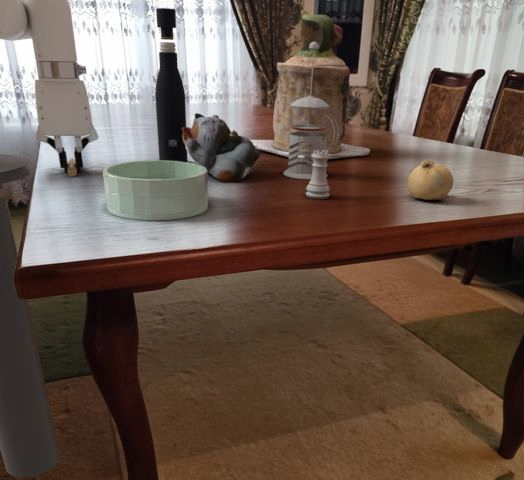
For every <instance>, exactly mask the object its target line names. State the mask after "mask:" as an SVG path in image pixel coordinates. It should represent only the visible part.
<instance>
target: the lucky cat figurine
mask: <svg viewBox="0 0 524 480" xmlns="http://www.w3.org/2000/svg"><path fill="white" fill-rule="evenodd" d="M182 131H183V142H184V144H185V146H186V150H187V153H188V155H189V156H190V157H191V158H192V160H193V162H195V164H198V165H201V166H204V167H206V169H207V171H208V174H210V175H212V177H214V178H216V179H218V180H219V181H221V182H224V183H226V182H227V183H232V182H233V183H237V182H240V180H241V179H244V178H245V177H246V176H248V175H249V174H250V173H251V170H252V167H253V166H254V165H255V163H256V162H257V161H258V160H259V158H260V157H261V155H262V151H261V150H259V149H256V148H255V146H254V145H253V143H252V142H251V141H250V140H251V139H250V138H248V137H246V136H243V135H239V133H238V132H237V131H236V130H235V129H233V130H232V131H231V129H230V127H229V126H228V124H227V123H226V121H225V120H224V119H222V118H220V116H219V115H217V114H213V115H212V116H205V115H204V114H201V113H198V112H195V113H194V119H193V123H192V125H191V127H190V126H189V127H188V126H186V127H183V128H182Z"/></svg>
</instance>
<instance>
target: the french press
mask: <svg viewBox="0 0 524 480" xmlns="http://www.w3.org/2000/svg"><path fill="white" fill-rule="evenodd" d="M309 48H313V61H312V76H313V62H314V49H319V45H318V43H317V42H312V43H311V44H310V47H309ZM312 76H311V90H310V96H308V97H305V98H300V99H298V100H296V101H295V102H293V103H292V104H291V108H296V109H309V120H310V110H324V109H328V108H329V107H330V106H329V105H328V104H327V103H325V102H324V101H323V100H321V99H319V98H315V97H313V96H311V91H312ZM329 115H330V114H328V115H324V116H326V117H327V120H326V121H324V116H323V121H324V122H327V121H328V118H329V119H330V117H328V116H329ZM330 116H331V117H332V118H333V119H334V121H335V122H336V125H337V129H338V132H337V139H336V142H335V144H334V146H333V147H332V148H331V146H332V144H333V141H334V138H335V127H334V124H333V122H332V120H331V119H330V121H331V122H332V125H333V129H334V135H333V141H332V144H331V145H330V147H329V148H328V149H327V150H325V147H326V134H322V133H316V132H292V133H290V142H289V157H288V165H287V169H285V170H284V172H282V173H283V176H286V177H288V178H292V179H298V180H299V179H301V180H311V177H312V172H313V166H312V164H313V163H314V160H313V158H312V157H311V156H312V155H313V153H314V150H320V152H322V150H323V149H322V146H323V147H324V150H325V152H326V151H330V150H332V149H333V148H334V147H335V145H336V143H337V140H338V135H339V127H338V124H337V121H336V120H335V118H334V117H333V116H332V115H330ZM309 120H308V125H306V124H296V125H292V128H293V129H295V130H301V131H322V130H325V126H323V125H312V124H311V125H310V124H309ZM323 140H324V143H322V142H323ZM299 142H301V143H309V144H310V145H307V146H304V145H299ZM310 147H313V148H310ZM330 148H331V149H330ZM298 149H306V150H309V151H307V152H299V151H298ZM316 152H317V151H316ZM310 153H312V155H311V154H310ZM299 155H304V156H307V157H306V158H298V156H299ZM310 159H312V160H310ZM327 177H328V174H327V173H326V178H327Z"/></svg>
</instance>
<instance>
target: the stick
mask: <svg viewBox="0 0 524 480" xmlns="http://www.w3.org/2000/svg"><path fill="white" fill-rule="evenodd" d="M67 163H68V168H67V172H68V173H67V175H68V176H69V177H72V178H73V177H75V176H77V174H78V172H77V168H76V162H75V158H69V159H67Z"/></svg>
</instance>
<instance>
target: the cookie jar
mask: <svg viewBox="0 0 524 480" xmlns="http://www.w3.org/2000/svg"><path fill="white" fill-rule="evenodd" d="M300 18H301V21H302V22H301V23H300V26H301V30H300V31H299V36H300V40H301V43H302V48H301V49H299V50H298V52H297V53H295V55H293V56H292V57H290V58H288V60H286V61H285V62H277V63H276V70H277V72H278V74H279V76H278V83H277V90H276V97H275V99H274V108H273V116H272V117H273V120H272V121H273V122H272V129H273V133H274V138H273V139H249V140H250V141H251V142H252V143H253V145H254V146H255V148H256V150H259V151H262V152H267V153H272V154H275V155H278V156H279V155H280V156H282V157H286V158H289V142H290V133H292V132H316V133H322V134H326V147H325V150H327V149H328V148H329V147H330V145H331V144H332V141H333V135H334V129H333V125H332V122H333V124H334V127H335V138H334V141H333V144H332V146H331V148H332V147H333V146H334V144H335V142H336V139H337V132H338V129H337V125H336V122H335V121H334V119H333V118H332V117H331V116H330V115H332V116H333V117H334V118H335V120H336V121H337V124H338V127H339V135H338V140H337V143H336V145H335V147H334V148H333V149H332V150H330V151H328V155H329V159H328V160H334V159H342V158H343V159H344V158H345V159H346V158H353V157H354V158H355V157H364V156H365V157H366V156H368V155H369V154H370V153H371V149H370V148H367V147H364V146H357V145H351V144H348V143H347V144H346V143H342V140H343V139H344V137H345V136H346V126H345V123H346V121H347V106H348V104H349V103H350V95H351V86H350V78H351V77H350V76H351V70H350V68H349V67H348V66H347V64H346V63H345V61H344V60H343V59H341V58H340V57H338V56H337V49H336V48H335V46H337V45H338V44H340V43H342V40H343V39H342V38H343V31H344V30H343V28H342V27H341V26H339V25H337V24H335V23H334V19H333V18H332V17H329V16H328V15H327V14H310V13H309V12H308V11H306V10H301V13H300ZM312 42H317V43H318V45H319V49H314V62H313V76H312V61H313V48H309V47H310V44H311V43H312ZM311 76H312V91H311V96H313V97H315V98H319V99H321V100H323V101H324V102H325V103H327V104H328V105H329V106H330V107H329V108H328V109H324V110H310V120H309V109H296V108H291V104H292V103H293V102H295V101H296V100H298V99H300V98H305V97H308V96H310V90H311ZM328 114H330V115H329V116H328V117H330V119H331V120H332V122H331V121H330V119H329V118H328V121H327V122H324V121H326V120H327V117H326V116H324V115H328ZM323 116H324V121H323ZM308 120H309V124H310V125H311V124H312V125H323V126H325V130H322V131H301V130H295V129H293V128H292V125H296V124H306V125H308ZM322 143H324V140H323V142H322ZM299 145H304V146H307V145H310V144H309V143H301V142H299ZM310 148H313V147H310ZM331 148H330V149H331ZM322 149H323V150H324V147H323V146H322ZM298 151H299V152H307V151H309V150H306V149H298ZM310 154H311V155H312V153H310ZM306 157H307V156H304V155H299V156H298V158H306ZM310 161H312V159H310Z"/></svg>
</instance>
